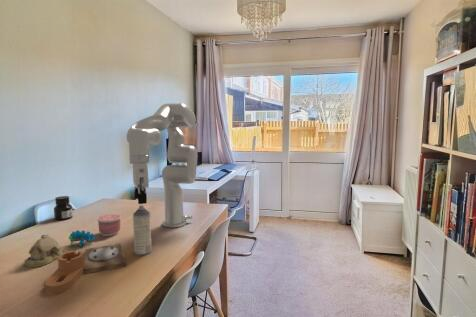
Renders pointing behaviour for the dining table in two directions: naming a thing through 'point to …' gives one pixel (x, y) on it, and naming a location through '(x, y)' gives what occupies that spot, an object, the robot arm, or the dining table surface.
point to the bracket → (66, 272)
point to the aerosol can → (142, 231)
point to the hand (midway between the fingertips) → (140, 200)
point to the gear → (80, 237)
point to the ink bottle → (62, 208)
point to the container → (109, 224)
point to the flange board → (104, 258)
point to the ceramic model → (43, 252)
